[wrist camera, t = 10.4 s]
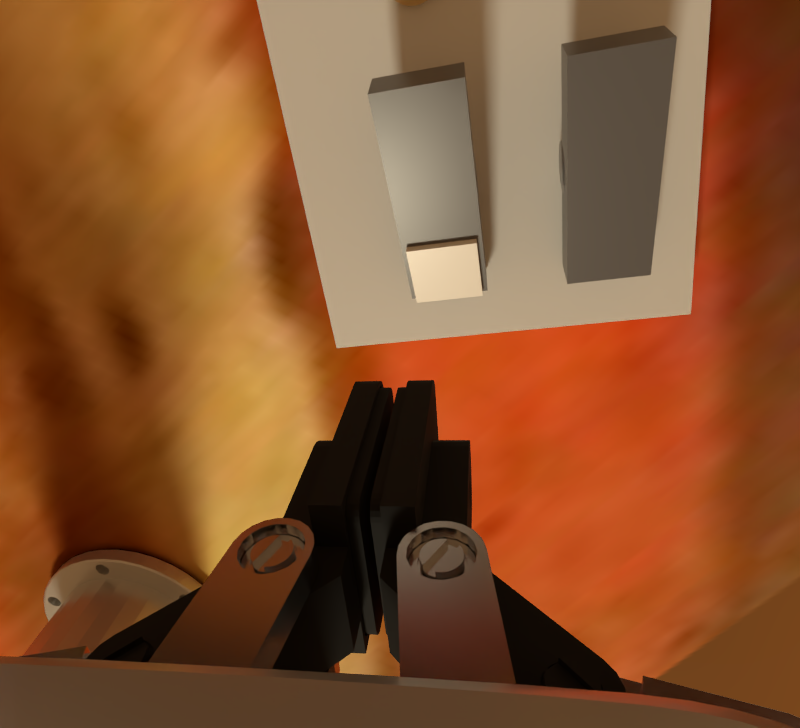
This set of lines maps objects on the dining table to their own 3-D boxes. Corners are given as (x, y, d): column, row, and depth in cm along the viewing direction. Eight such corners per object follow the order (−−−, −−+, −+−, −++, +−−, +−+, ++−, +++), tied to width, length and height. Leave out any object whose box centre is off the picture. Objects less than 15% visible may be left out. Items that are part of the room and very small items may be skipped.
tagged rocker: (485, 257, 24) (487, 295, 23) (415, 265, 25) (411, 303, 23) (463, 52, 19) (465, 80, 17) (375, 69, 20) (366, 97, 18)
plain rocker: (636, 243, 23) (650, 275, 22) (559, 252, 24) (567, 284, 22) (656, 18, 18) (676, 36, 16) (557, 36, 19) (567, 55, 17)
